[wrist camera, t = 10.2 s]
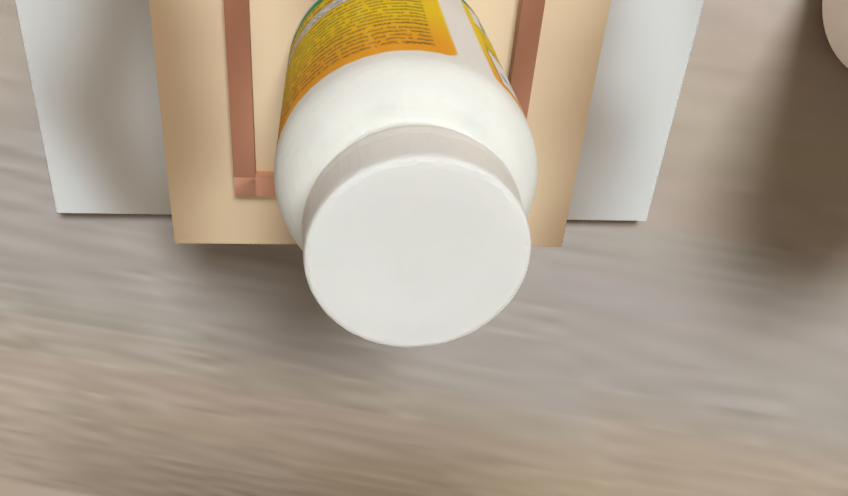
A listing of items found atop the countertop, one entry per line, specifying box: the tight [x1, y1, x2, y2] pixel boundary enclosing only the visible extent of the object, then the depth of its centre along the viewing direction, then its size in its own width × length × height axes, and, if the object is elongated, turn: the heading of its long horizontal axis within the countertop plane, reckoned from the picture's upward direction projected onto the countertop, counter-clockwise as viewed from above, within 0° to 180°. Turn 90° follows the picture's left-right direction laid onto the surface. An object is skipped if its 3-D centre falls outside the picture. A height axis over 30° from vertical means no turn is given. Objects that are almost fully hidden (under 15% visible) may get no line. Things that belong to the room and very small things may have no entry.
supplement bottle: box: [274, 0, 538, 347], centre depth 18 cm, size 5×5×10 cm
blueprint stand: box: [15, 0, 704, 247], centre depth 24 cm, size 22×16×6 cm
